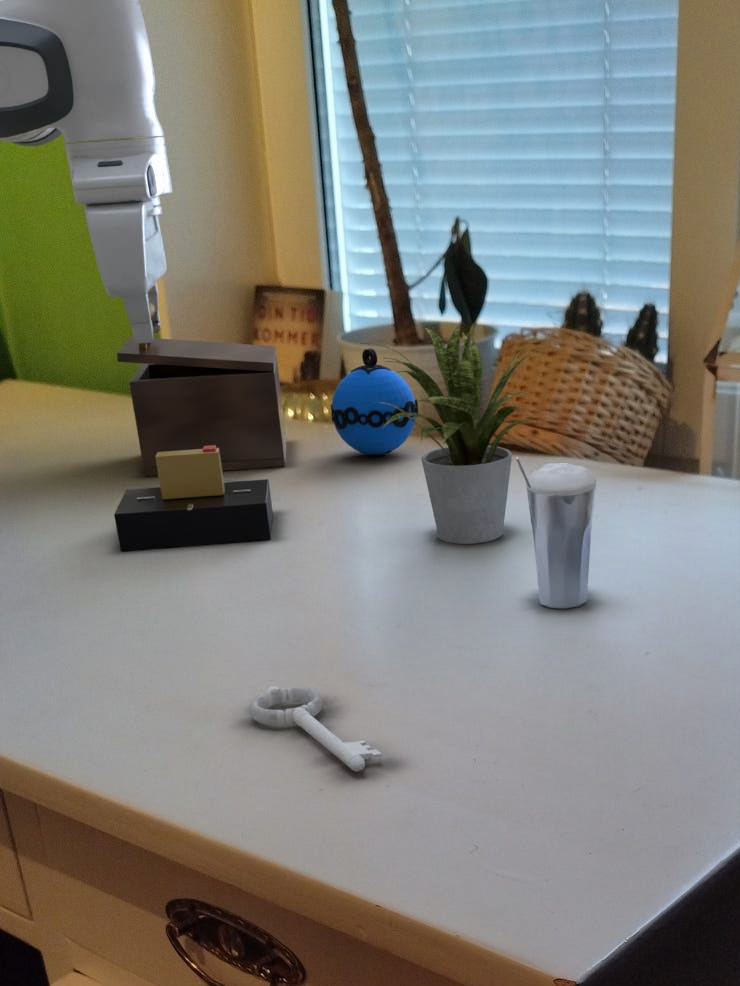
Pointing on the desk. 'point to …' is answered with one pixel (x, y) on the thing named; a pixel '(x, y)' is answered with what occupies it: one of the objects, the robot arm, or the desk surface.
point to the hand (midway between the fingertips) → (148, 337)
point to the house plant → (464, 444)
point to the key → (309, 722)
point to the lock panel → (194, 517)
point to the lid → (198, 353)
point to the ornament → (373, 407)
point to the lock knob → (190, 473)
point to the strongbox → (210, 414)
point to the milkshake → (561, 531)
